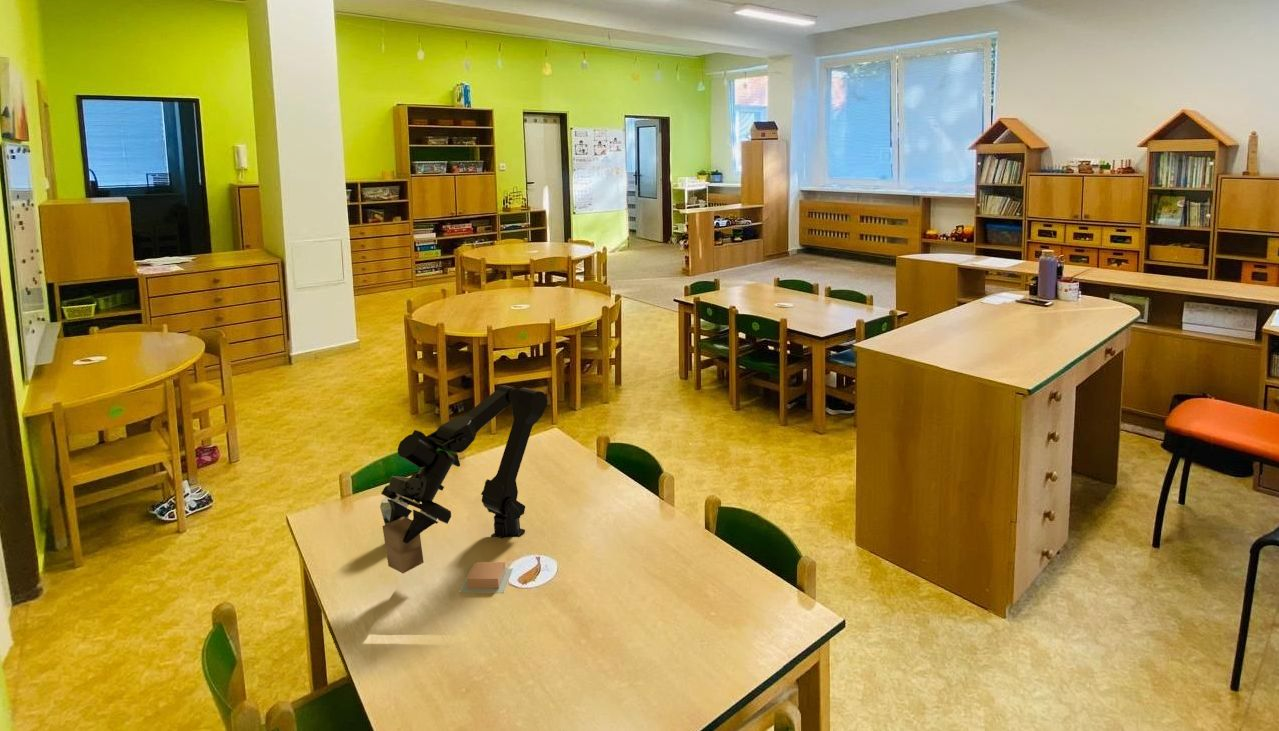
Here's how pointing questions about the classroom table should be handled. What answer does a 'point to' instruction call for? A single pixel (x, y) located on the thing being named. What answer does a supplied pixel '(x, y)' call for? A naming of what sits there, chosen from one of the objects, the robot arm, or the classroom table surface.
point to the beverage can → (386, 510)
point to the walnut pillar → (402, 546)
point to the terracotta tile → (486, 575)
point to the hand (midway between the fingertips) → (396, 538)
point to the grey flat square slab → (499, 590)
